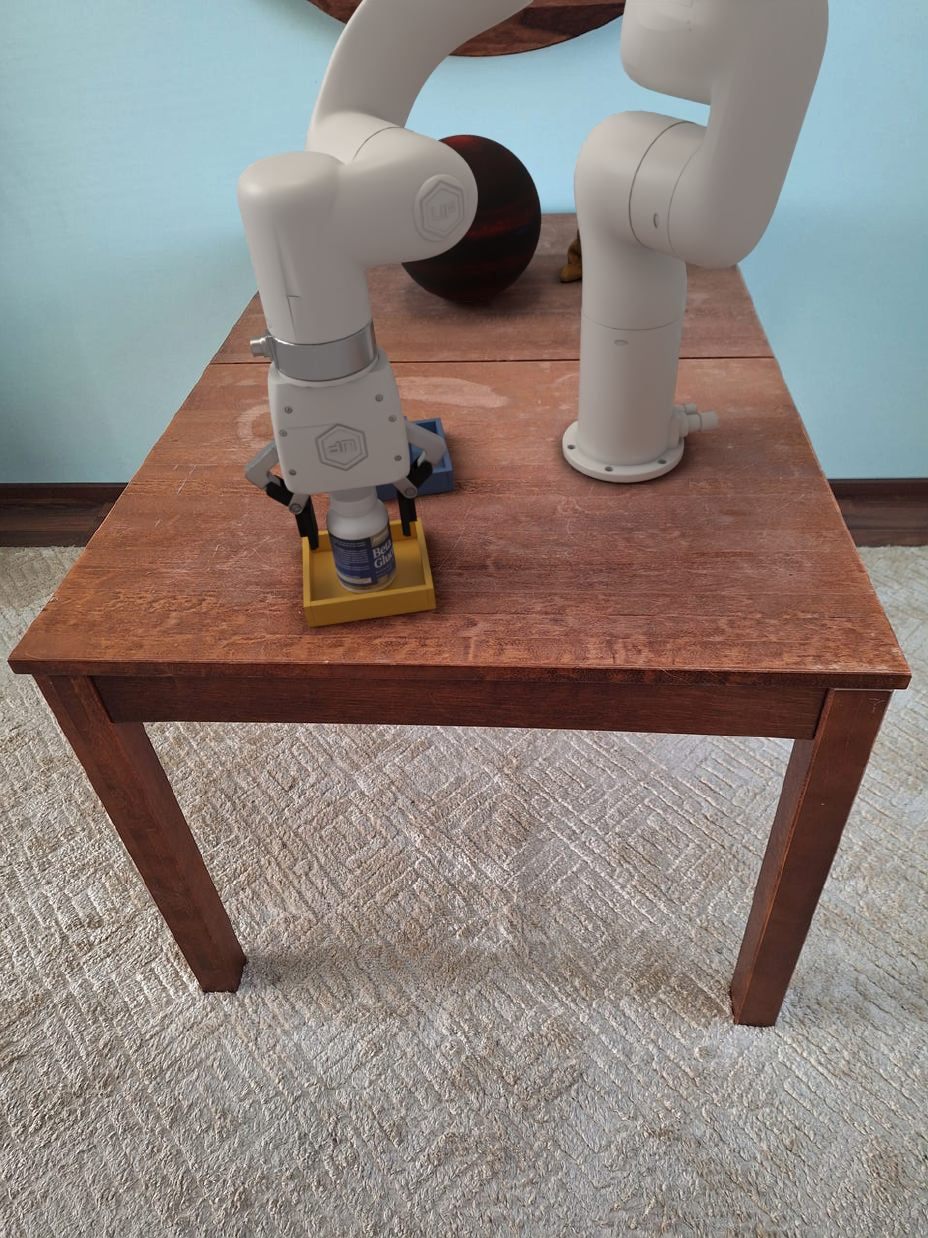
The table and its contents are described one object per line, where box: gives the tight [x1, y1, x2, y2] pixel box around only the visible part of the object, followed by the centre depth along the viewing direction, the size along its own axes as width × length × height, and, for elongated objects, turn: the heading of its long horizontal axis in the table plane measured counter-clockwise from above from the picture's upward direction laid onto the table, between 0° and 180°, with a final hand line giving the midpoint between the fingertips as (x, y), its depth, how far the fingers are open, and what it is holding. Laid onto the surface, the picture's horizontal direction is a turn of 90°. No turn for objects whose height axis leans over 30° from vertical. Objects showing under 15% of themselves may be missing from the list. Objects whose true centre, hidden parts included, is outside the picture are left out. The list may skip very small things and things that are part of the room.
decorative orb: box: [400, 134, 542, 303], centre depth 114 cm, size 20×20×20 cm
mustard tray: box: [301, 516, 437, 628], centre depth 78 cm, size 11×10×2 cm
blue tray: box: [376, 417, 456, 501], centre depth 91 cm, size 11×10×2 cm
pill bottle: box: [325, 486, 396, 594], centre depth 76 cm, size 5×5×10 cm
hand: (360, 532), depth 75 cm, fingers open, 7 cm apart
